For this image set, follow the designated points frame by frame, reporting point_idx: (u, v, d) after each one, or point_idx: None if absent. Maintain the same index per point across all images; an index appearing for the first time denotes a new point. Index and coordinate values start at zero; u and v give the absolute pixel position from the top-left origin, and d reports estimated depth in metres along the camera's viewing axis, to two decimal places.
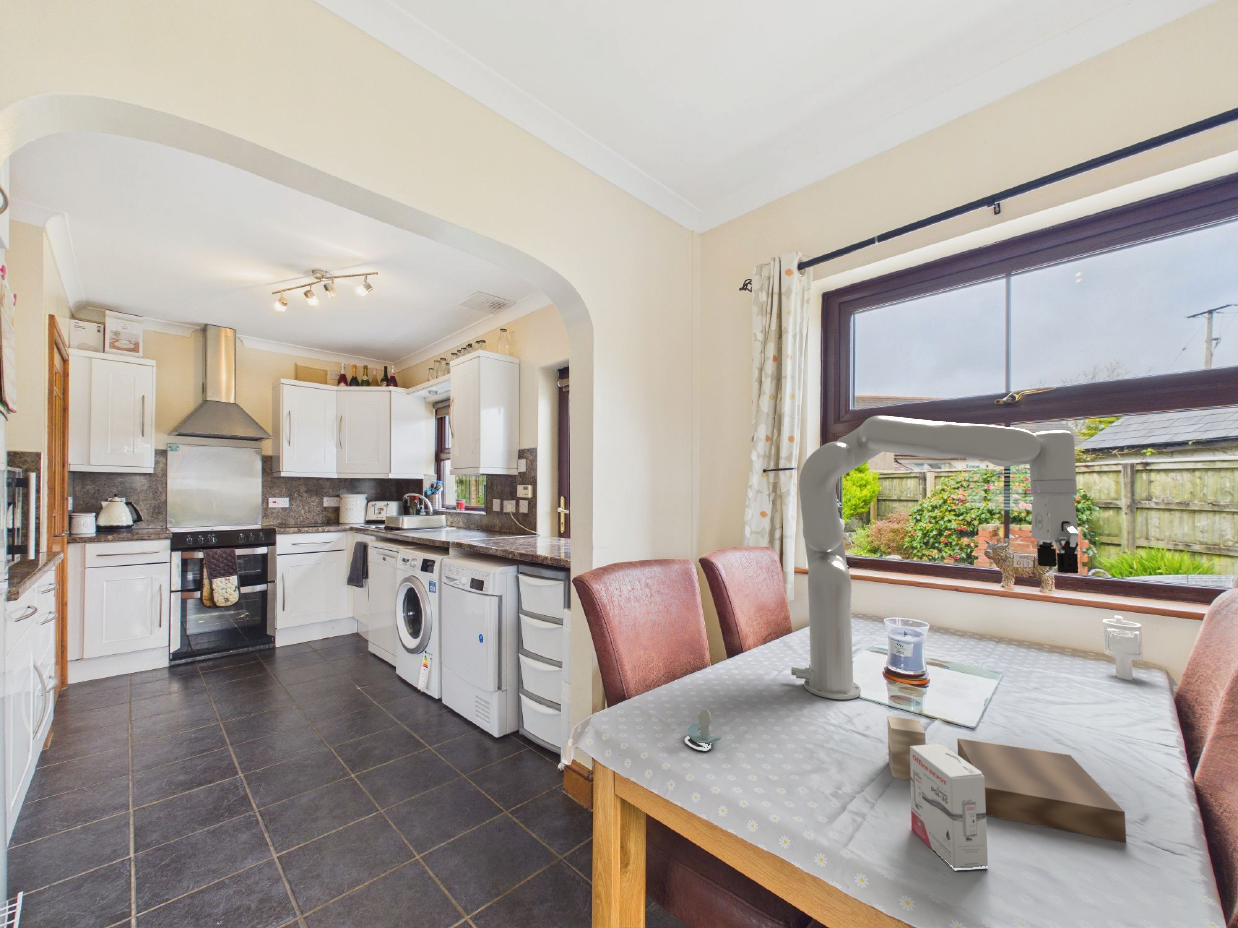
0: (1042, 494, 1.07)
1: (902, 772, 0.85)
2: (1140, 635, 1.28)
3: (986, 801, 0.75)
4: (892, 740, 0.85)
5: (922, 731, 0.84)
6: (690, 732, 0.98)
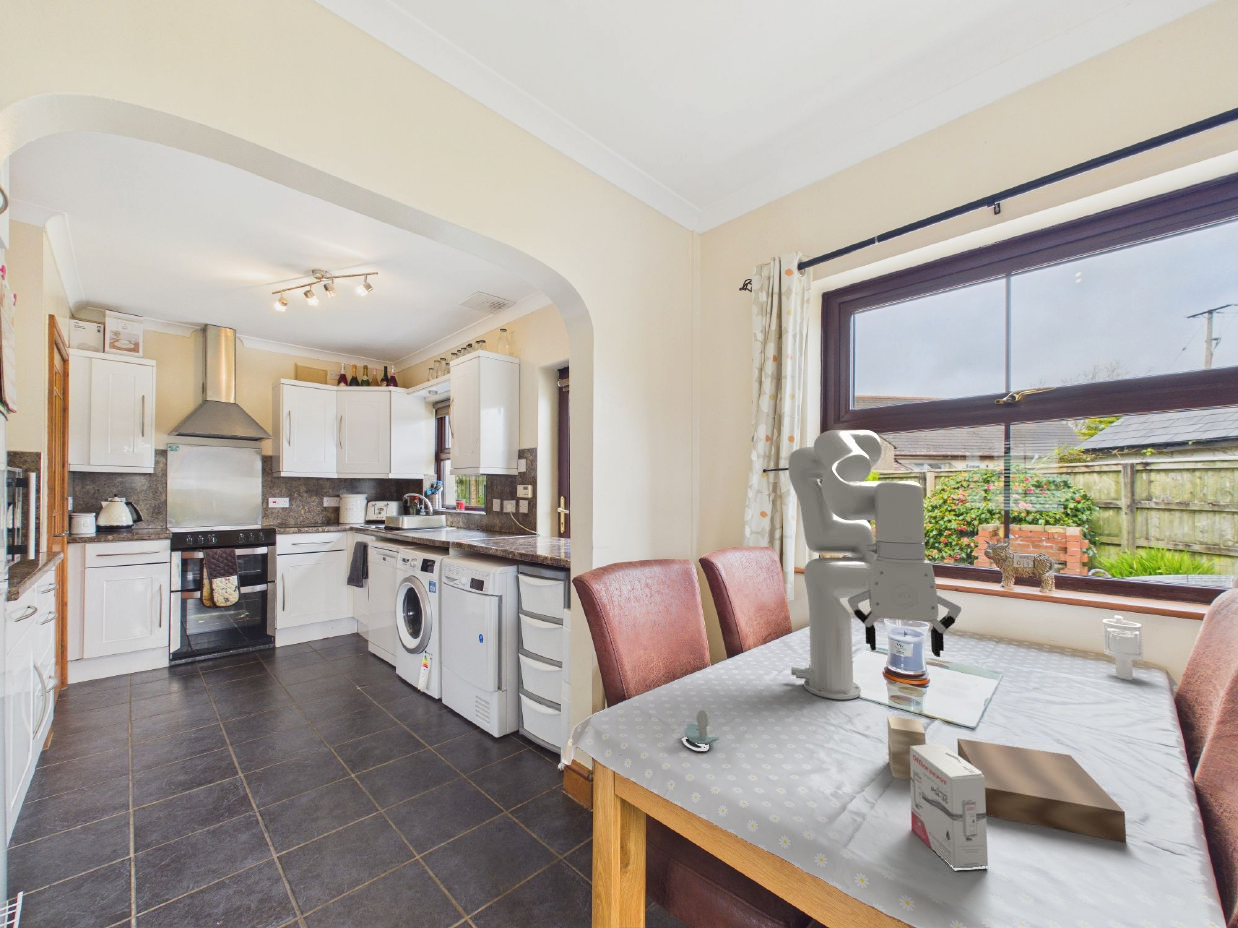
0: (919, 561, 0.85)
1: (902, 772, 0.85)
2: (1140, 635, 1.28)
3: (986, 801, 0.75)
4: (892, 740, 0.85)
5: (922, 731, 0.84)
6: (688, 733, 0.98)
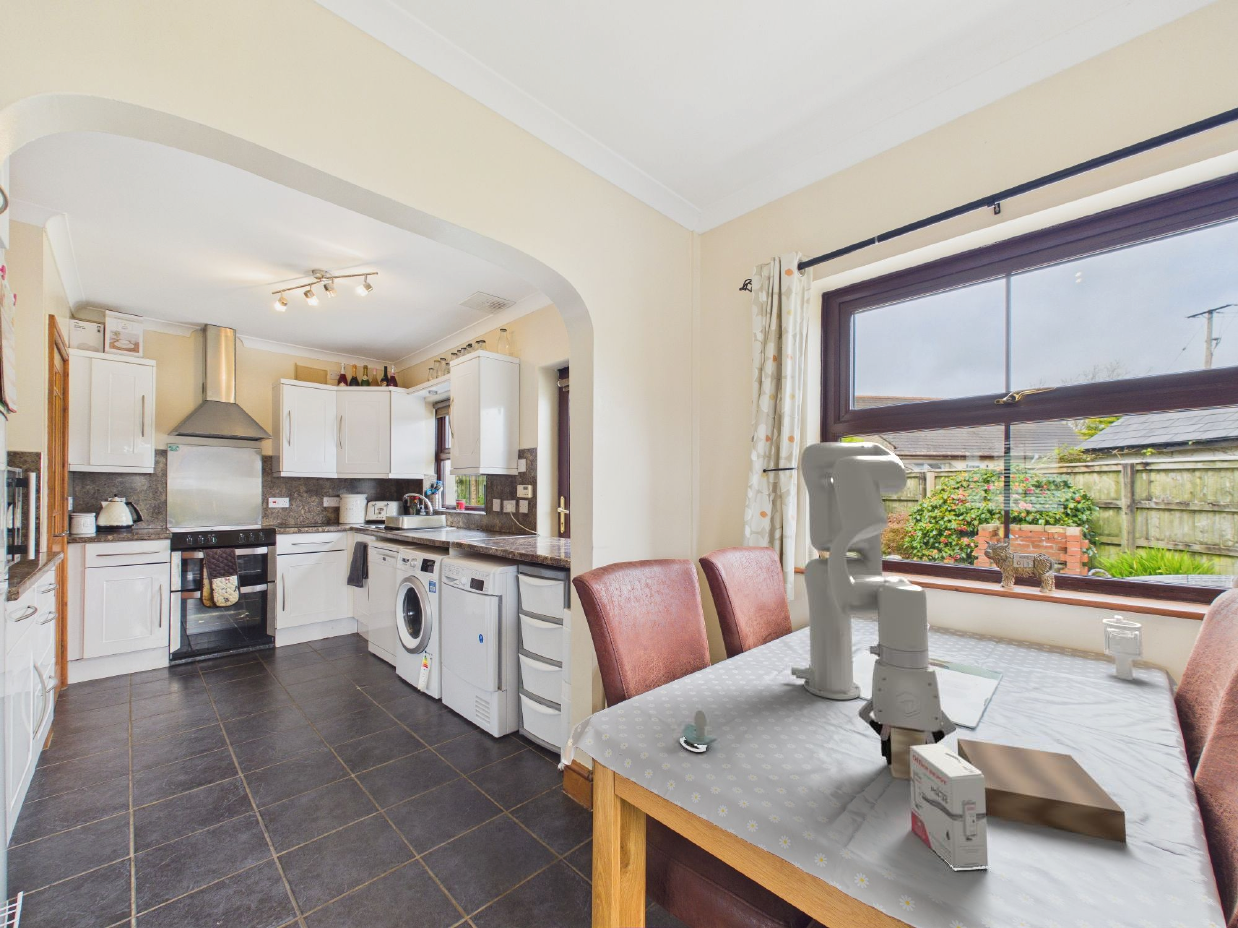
0: (923, 669, 0.84)
1: (902, 772, 0.85)
2: (1140, 635, 1.28)
3: (986, 801, 0.75)
4: (892, 740, 0.85)
5: (922, 731, 0.84)
6: (686, 733, 0.98)
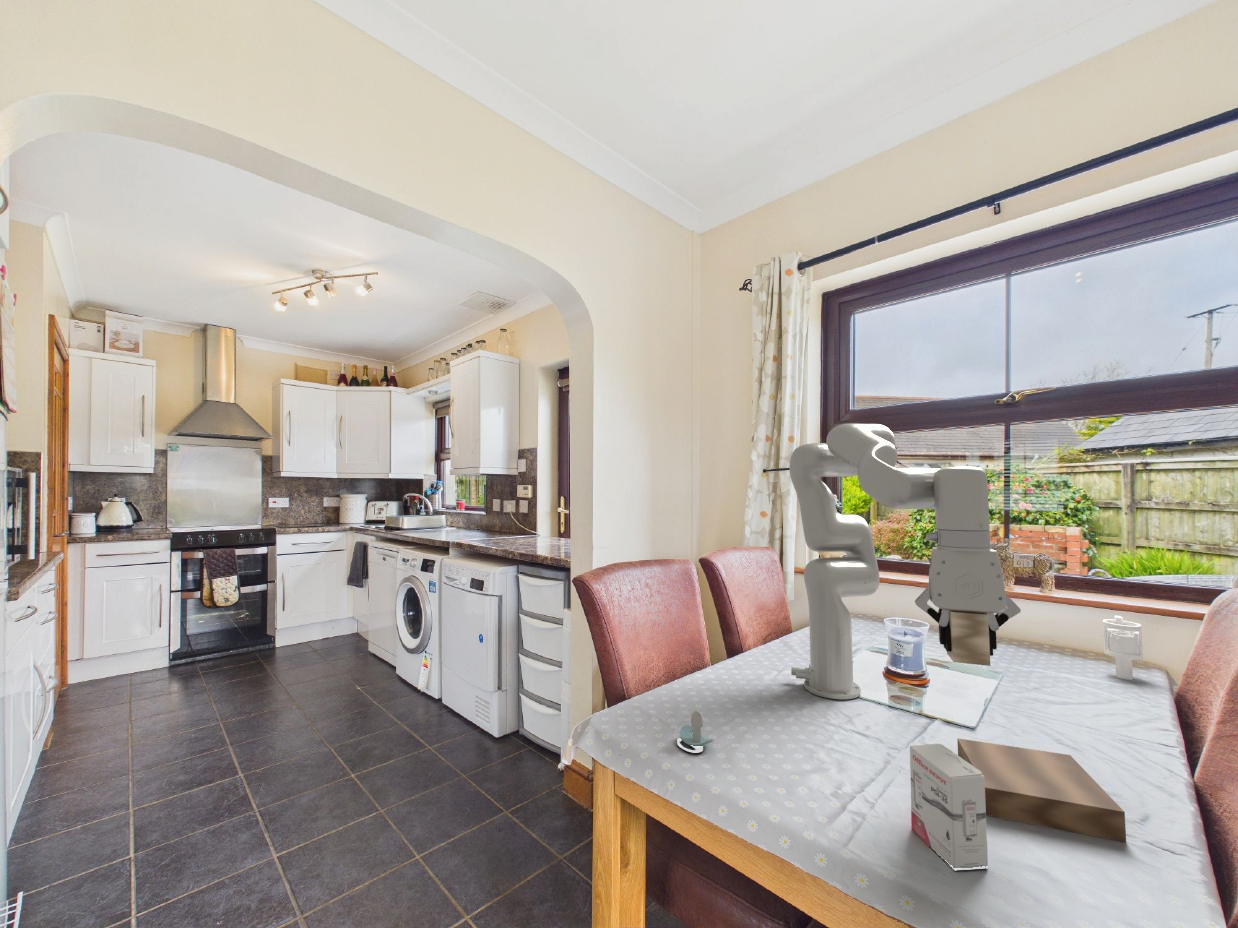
0: (985, 549, 0.81)
1: (963, 657, 0.82)
2: (1140, 635, 1.28)
3: (986, 801, 0.75)
4: (952, 624, 0.83)
5: (984, 614, 0.81)
6: (682, 734, 0.97)
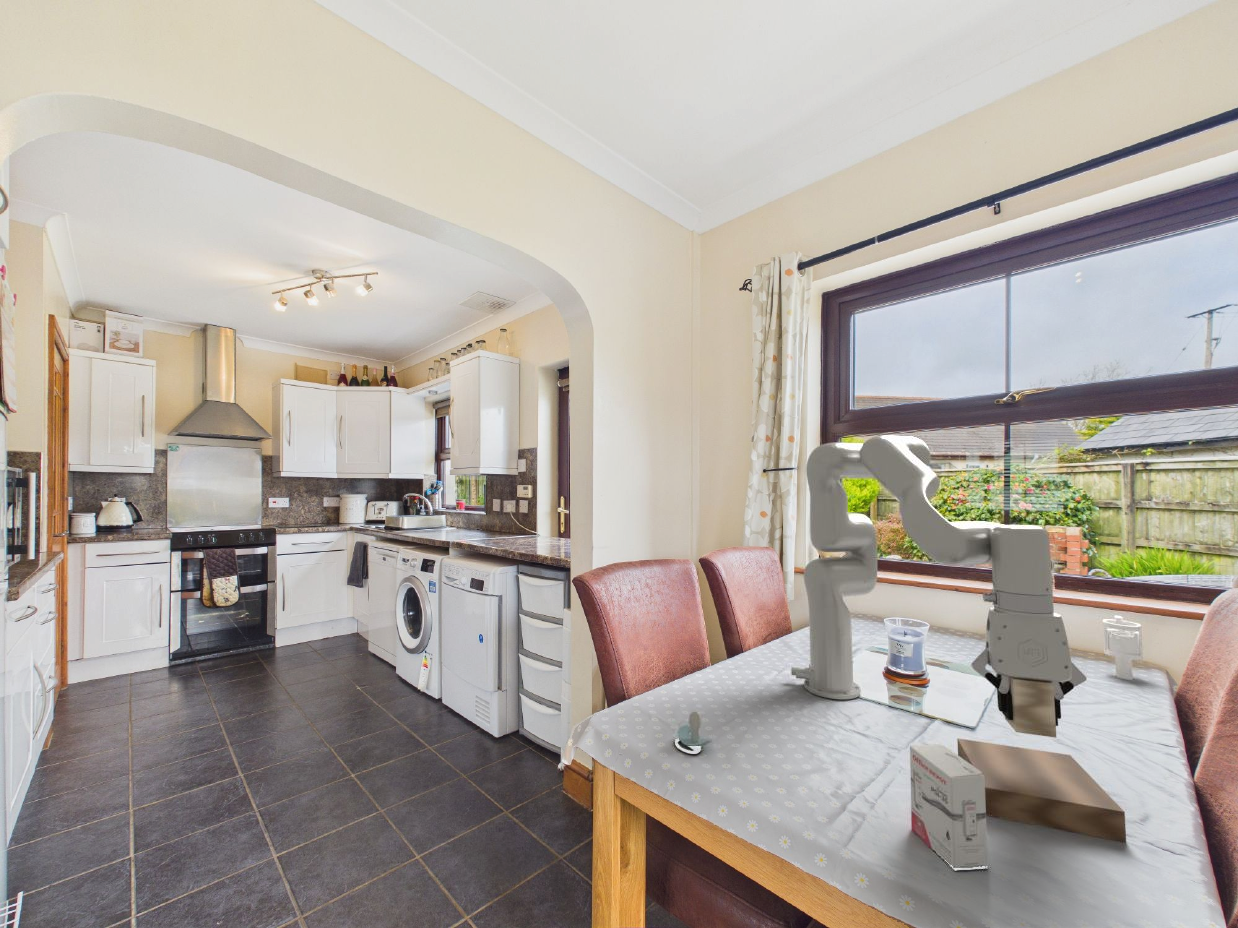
0: (1050, 615, 0.77)
1: (1027, 727, 0.78)
2: (1140, 635, 1.28)
3: (986, 801, 0.75)
4: (1015, 692, 0.79)
5: (1049, 682, 0.78)
6: (680, 735, 0.97)
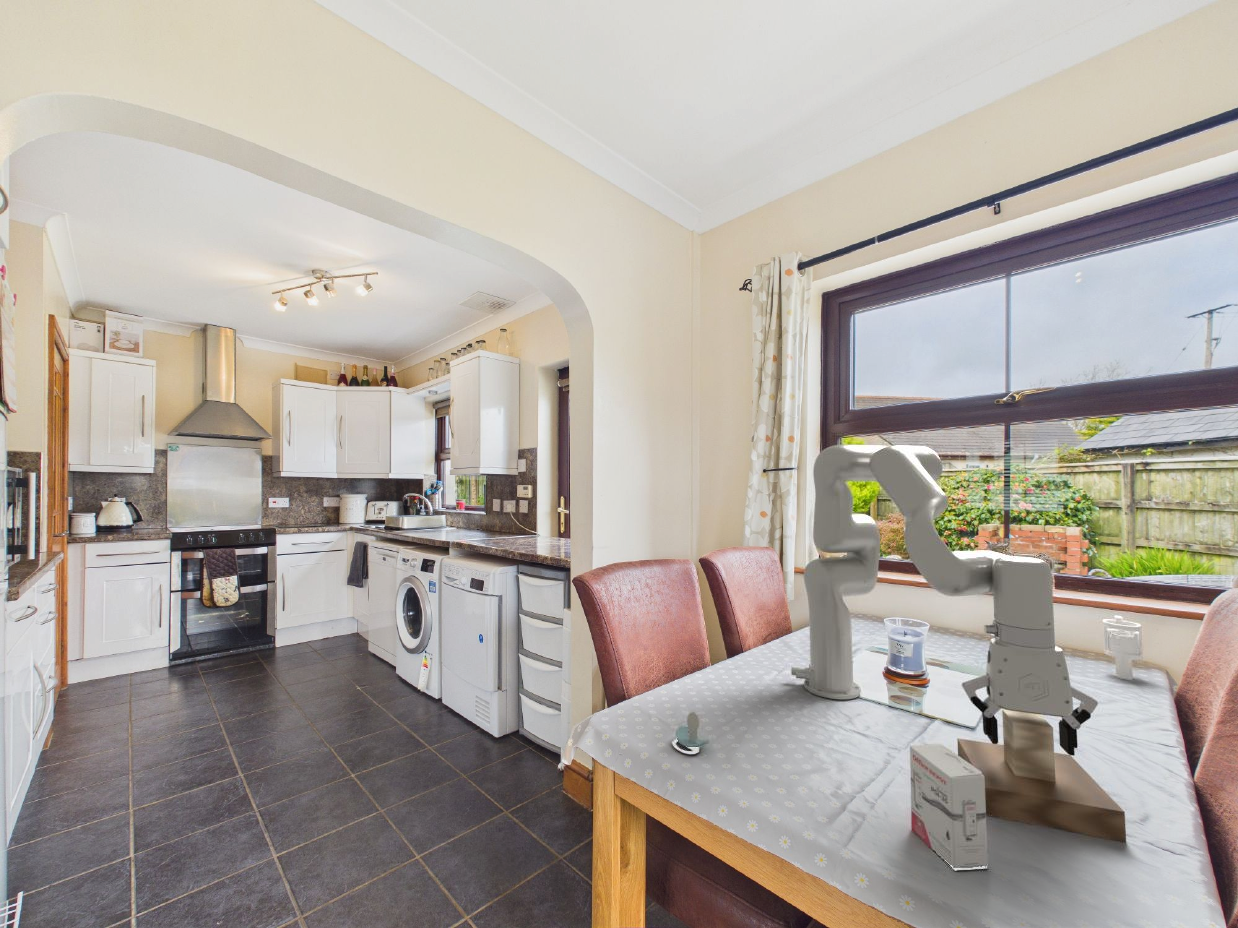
0: (1051, 649, 0.77)
1: (1026, 770, 0.78)
2: (1140, 635, 1.28)
3: (986, 801, 0.75)
4: (1014, 735, 0.79)
5: (1049, 725, 0.77)
6: (678, 735, 0.97)
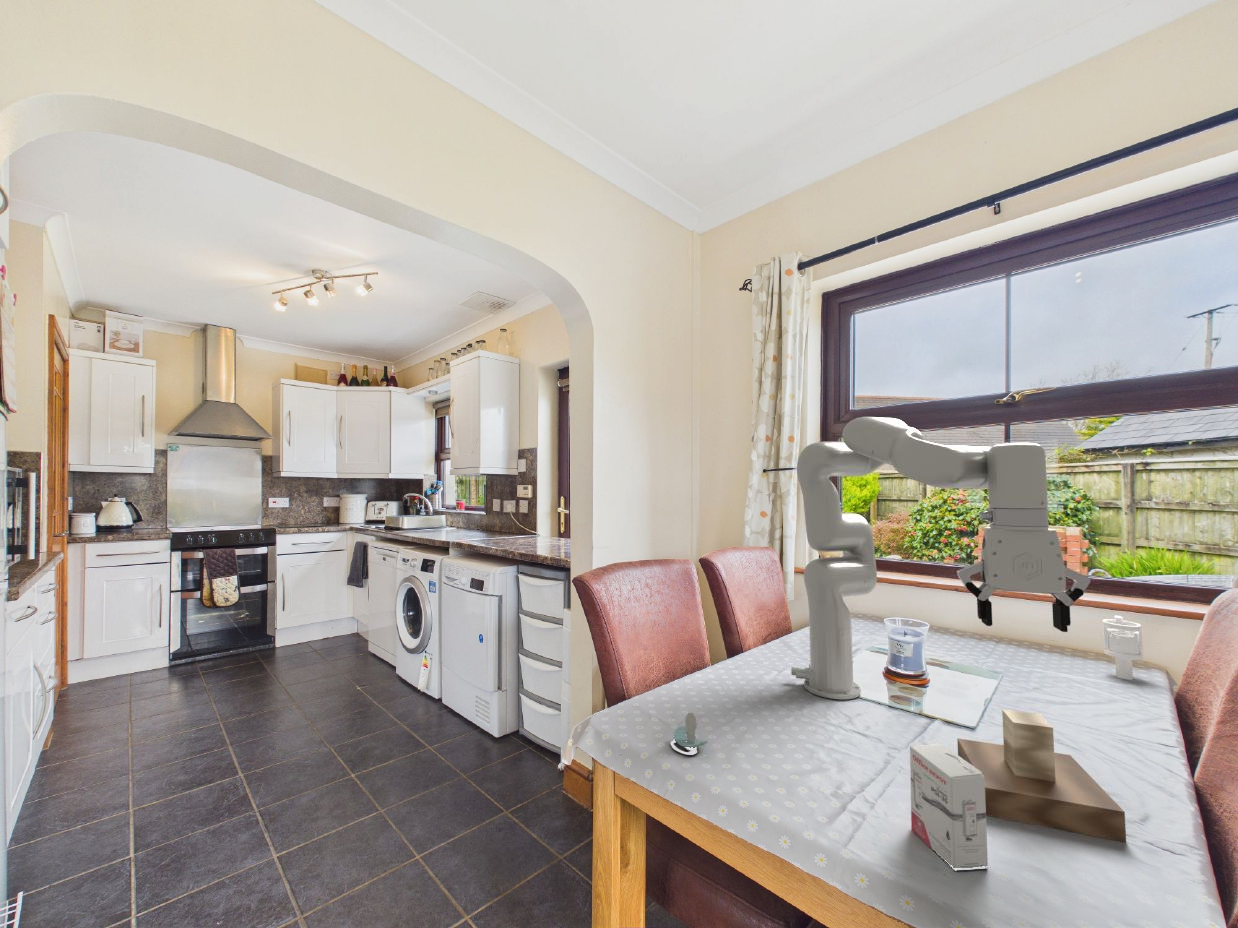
0: (1044, 528, 0.78)
1: (1026, 770, 0.78)
2: (1140, 635, 1.28)
3: (986, 801, 0.75)
4: (1014, 735, 0.79)
5: (1049, 725, 0.77)
6: (676, 736, 0.97)
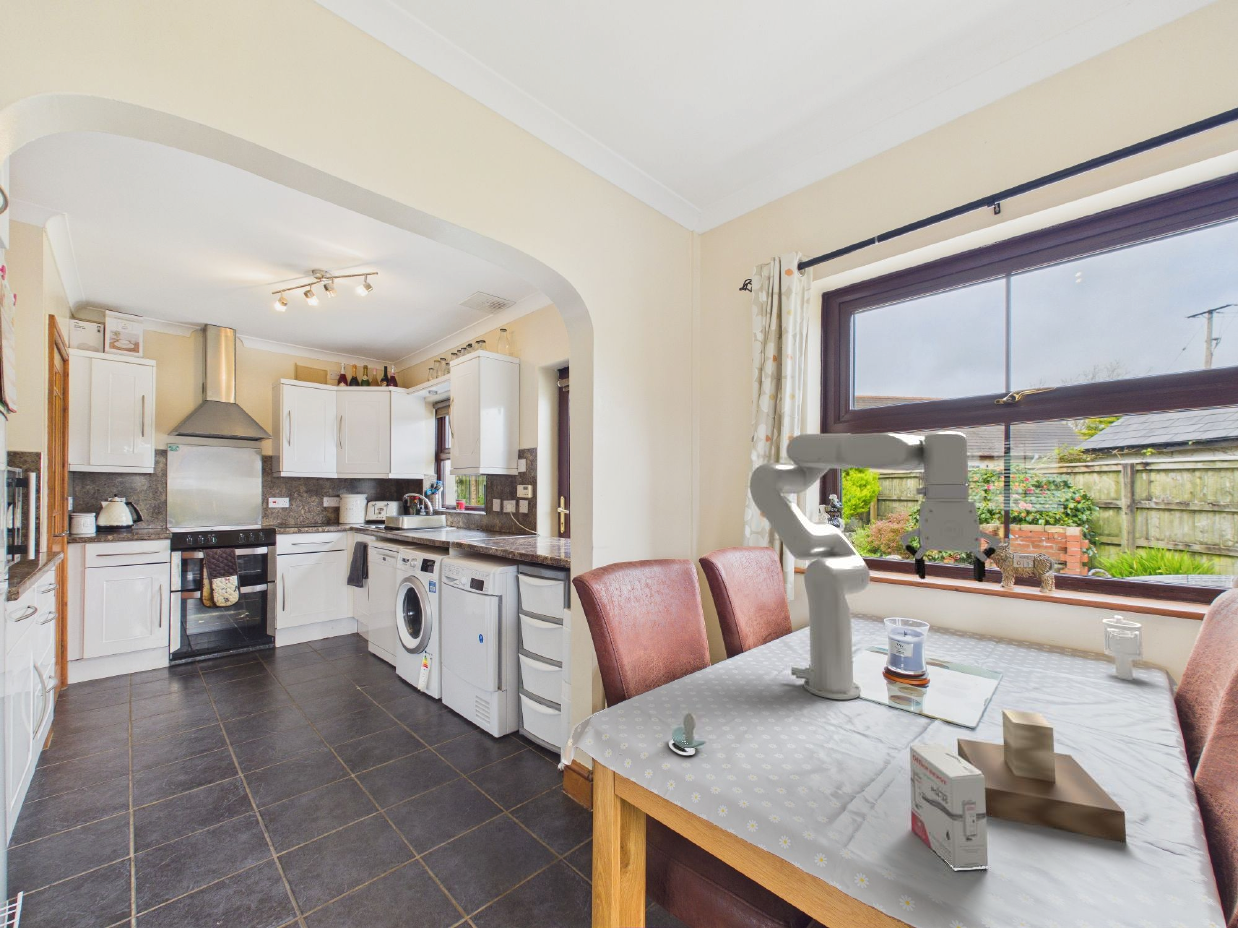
0: (965, 499, 0.98)
1: (1026, 770, 0.78)
2: (1140, 635, 1.28)
3: (986, 801, 0.75)
4: (1014, 735, 0.79)
5: (1049, 725, 0.77)
6: (674, 736, 0.96)
